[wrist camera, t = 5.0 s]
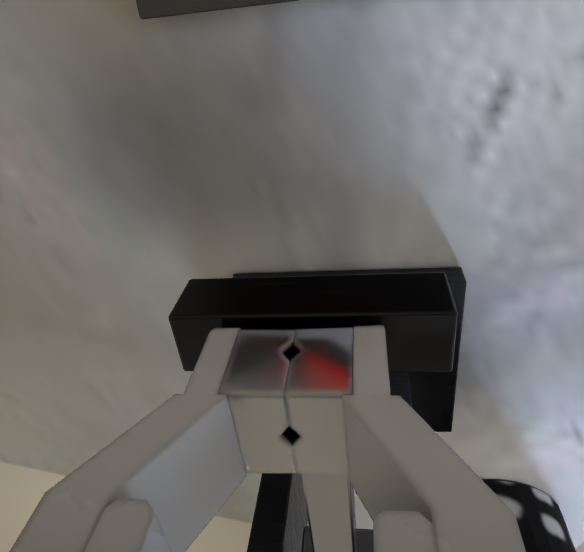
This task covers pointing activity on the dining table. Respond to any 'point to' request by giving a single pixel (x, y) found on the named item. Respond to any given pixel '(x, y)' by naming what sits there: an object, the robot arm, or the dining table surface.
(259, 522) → the lever bracket
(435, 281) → the toast lever
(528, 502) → the spotted tube
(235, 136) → the dining table surface
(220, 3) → the button housing
